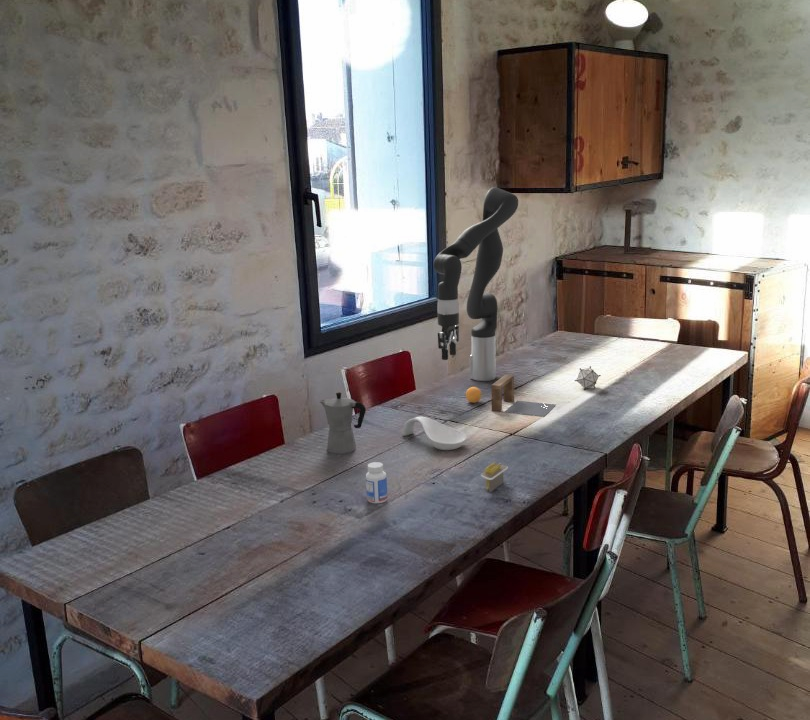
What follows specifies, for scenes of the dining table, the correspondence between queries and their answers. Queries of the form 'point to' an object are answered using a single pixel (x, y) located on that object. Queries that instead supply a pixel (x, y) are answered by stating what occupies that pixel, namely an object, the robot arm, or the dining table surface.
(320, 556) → the dining table surface
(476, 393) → the ball
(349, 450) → the coffeepot
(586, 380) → the game die
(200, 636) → the dining table surface
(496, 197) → the robot arm
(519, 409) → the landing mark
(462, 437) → the spoon rest
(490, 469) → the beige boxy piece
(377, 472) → the pill bottle
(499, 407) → the bridge
